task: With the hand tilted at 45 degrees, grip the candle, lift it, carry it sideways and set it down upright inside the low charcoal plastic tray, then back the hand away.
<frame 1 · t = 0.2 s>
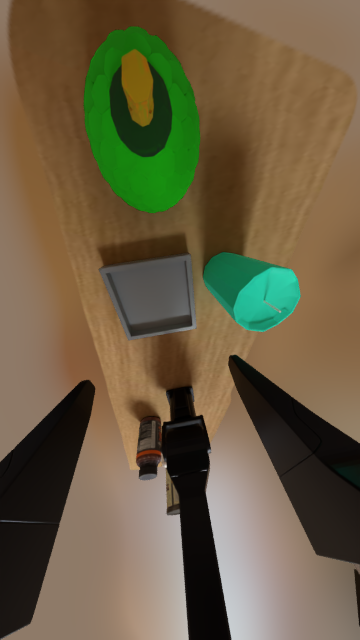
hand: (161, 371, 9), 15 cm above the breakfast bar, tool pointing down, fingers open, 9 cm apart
coffee can: (178, 452, 57), on the breakfast bar
ornament: (150, 168, 15), on the breakfast bar
muffin: (166, 439, 49), on the breakfast bar
tray: (155, 297, 22), on the breakfast bar
candle: (222, 273, 21), on the breakfast bar
supplement bottle: (150, 420, 41), on the breakfast bar
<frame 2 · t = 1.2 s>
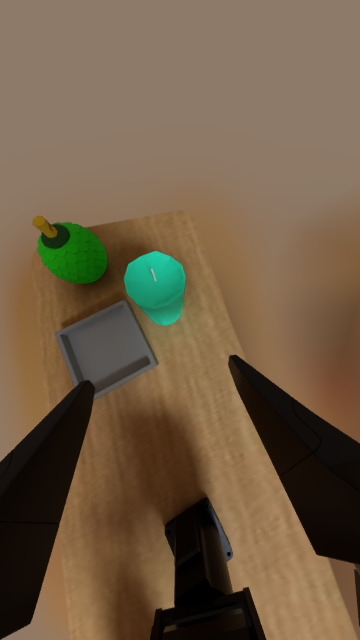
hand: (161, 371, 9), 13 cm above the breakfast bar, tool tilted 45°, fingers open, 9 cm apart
ornament: (93, 271, 25), on the breakfast bar
tray: (111, 348, 23), on the breakfast bar
candle: (164, 308, 24), on the breakfast bar
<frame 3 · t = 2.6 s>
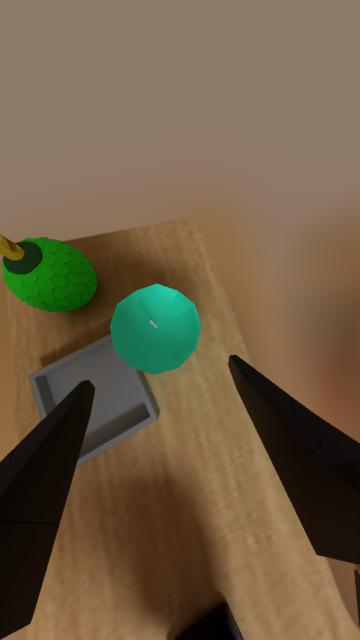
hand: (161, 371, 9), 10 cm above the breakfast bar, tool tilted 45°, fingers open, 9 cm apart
ornament: (81, 292, 21), on the breakfast bar
tray: (100, 391, 18), on the breakfast bar
candle: (167, 338, 20), on the breakfast bar
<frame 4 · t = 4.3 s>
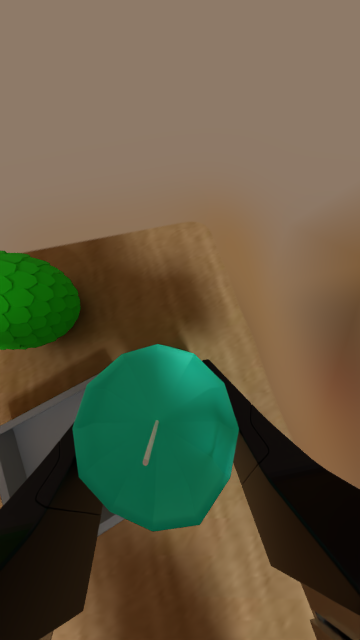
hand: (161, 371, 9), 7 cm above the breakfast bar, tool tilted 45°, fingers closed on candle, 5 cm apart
ornament: (63, 314, 17), on the breakfast bar
tray: (84, 447, 14), on the breakfast bar
candle: (170, 374, 16), on the breakfast bar, touching gripper
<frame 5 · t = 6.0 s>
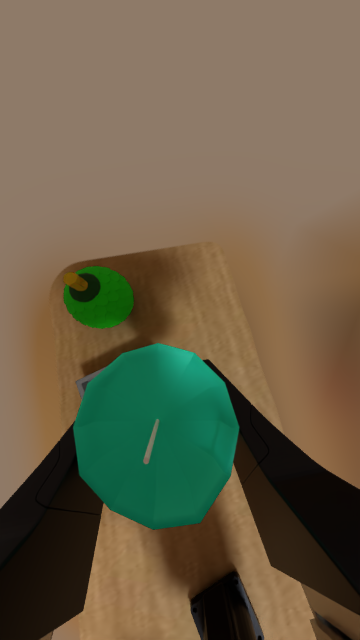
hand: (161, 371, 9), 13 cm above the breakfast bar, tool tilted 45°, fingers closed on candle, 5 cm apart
ornament: (116, 306, 24), on the breakfast bar
candle: (170, 374, 16), point 6 cm above the breakfast bar, touching gripper
when the fingers open (8 cm above the breakfast bar, at t = 8.2 s): candle drops 1 cm, resting on tray.
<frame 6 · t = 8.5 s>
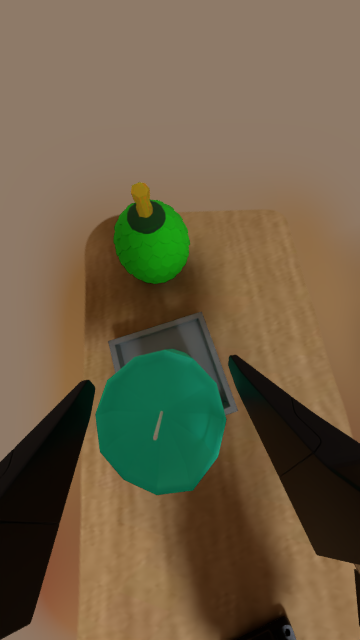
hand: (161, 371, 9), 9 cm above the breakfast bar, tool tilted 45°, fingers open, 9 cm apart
ornament: (158, 267, 20), on the breakfast bar
tray: (171, 371, 17), on the breakfast bar
candle: (171, 374, 17), resting on tray
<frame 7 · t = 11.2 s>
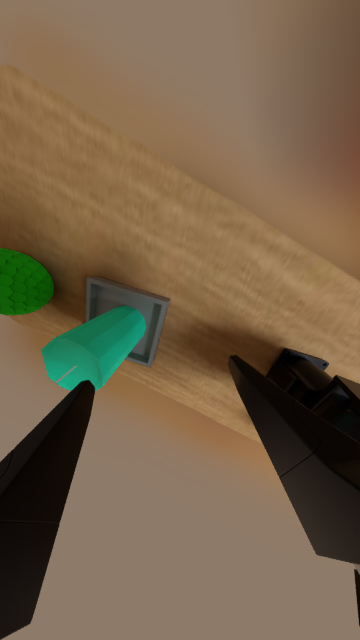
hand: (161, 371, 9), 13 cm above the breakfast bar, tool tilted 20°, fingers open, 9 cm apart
ornament: (45, 280, 22), on the breakfast bar
tray: (128, 321, 23), on the breakfast bar
candle: (128, 323, 22), resting on tray
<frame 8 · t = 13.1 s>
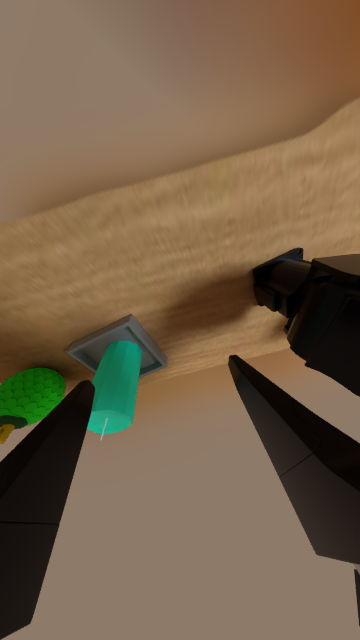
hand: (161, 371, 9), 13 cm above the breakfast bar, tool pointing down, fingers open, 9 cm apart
ornament: (50, 371, 26), on the breakfast bar
tray: (123, 351, 25), on the breakfast bar
candle: (124, 352, 25), resting on tray
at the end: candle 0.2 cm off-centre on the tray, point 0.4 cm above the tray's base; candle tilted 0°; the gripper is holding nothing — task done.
